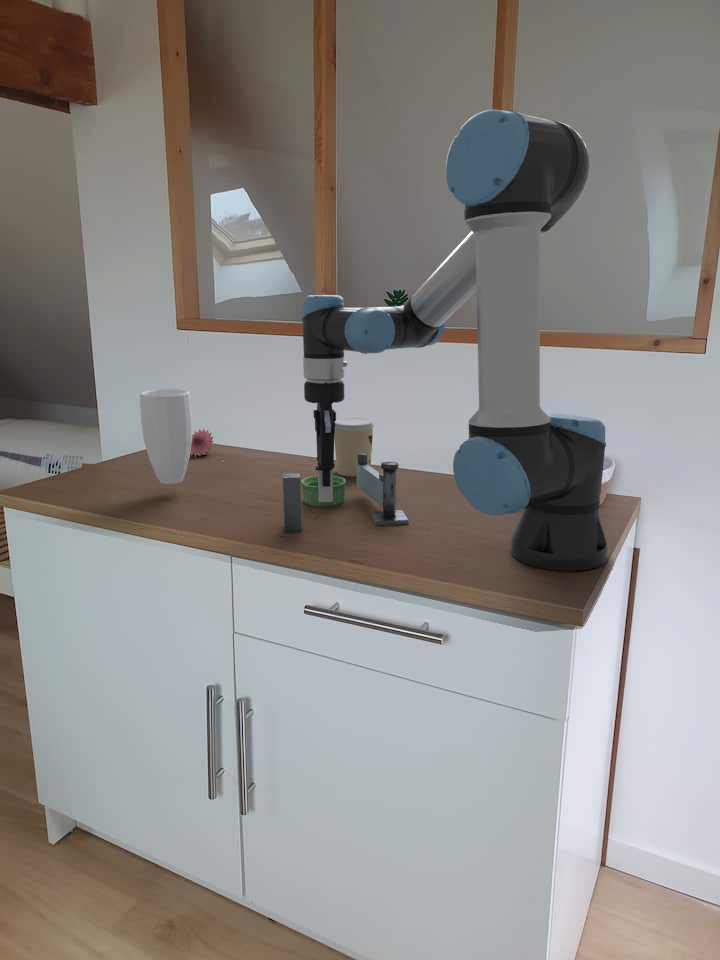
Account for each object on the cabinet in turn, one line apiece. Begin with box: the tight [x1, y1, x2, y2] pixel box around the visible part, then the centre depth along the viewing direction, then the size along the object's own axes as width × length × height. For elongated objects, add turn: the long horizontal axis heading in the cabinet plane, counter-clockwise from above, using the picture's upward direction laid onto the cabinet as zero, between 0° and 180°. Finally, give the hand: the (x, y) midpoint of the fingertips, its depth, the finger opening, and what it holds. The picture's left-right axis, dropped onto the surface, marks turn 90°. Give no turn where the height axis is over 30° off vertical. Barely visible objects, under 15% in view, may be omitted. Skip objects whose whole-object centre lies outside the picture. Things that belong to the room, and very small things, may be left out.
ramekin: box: [300, 475, 347, 508], centre depth 150 cm, size 9×9×4 cm
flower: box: [190, 428, 214, 458], centre depth 190 cm, size 8×8×6 cm
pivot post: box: [370, 461, 409, 526], centre depth 137 cm, size 6×6×11 cm
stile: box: [282, 472, 302, 533], centre depth 133 cm, size 3×3×10 cm
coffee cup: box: [334, 417, 375, 477], centre depth 171 cm, size 9×9×12 cm
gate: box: [356, 453, 383, 508], centre depth 146 cm, size 16×2×7 cm, turn 18°
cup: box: [139, 388, 193, 485], centre depth 152 cm, size 10×10×22 cm
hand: (325, 500), depth 145 cm, fingers closed
